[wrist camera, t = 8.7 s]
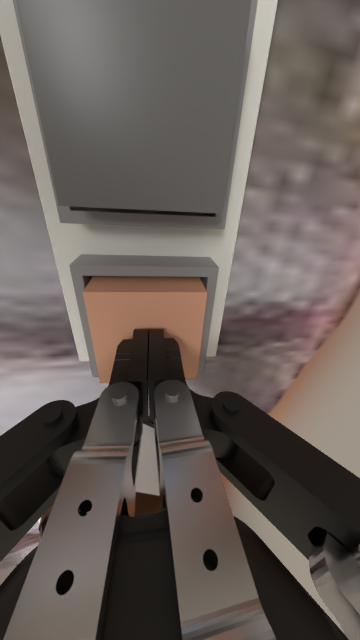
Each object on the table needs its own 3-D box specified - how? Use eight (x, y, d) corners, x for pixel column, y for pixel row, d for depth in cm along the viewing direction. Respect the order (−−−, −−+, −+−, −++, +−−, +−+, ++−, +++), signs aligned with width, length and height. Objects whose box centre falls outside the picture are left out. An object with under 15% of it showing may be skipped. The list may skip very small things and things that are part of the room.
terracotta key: (94, 273, 12) (82, 292, 10) (197, 275, 12) (207, 292, 10) (107, 355, 14) (100, 382, 12) (190, 352, 15) (196, 378, 13)
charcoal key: (43, -15, 6) (-8, -112, 4) (227, 15, 7) (259, -57, 5) (79, 202, 9) (58, 205, 7) (207, 208, 10) (222, 213, 8)
